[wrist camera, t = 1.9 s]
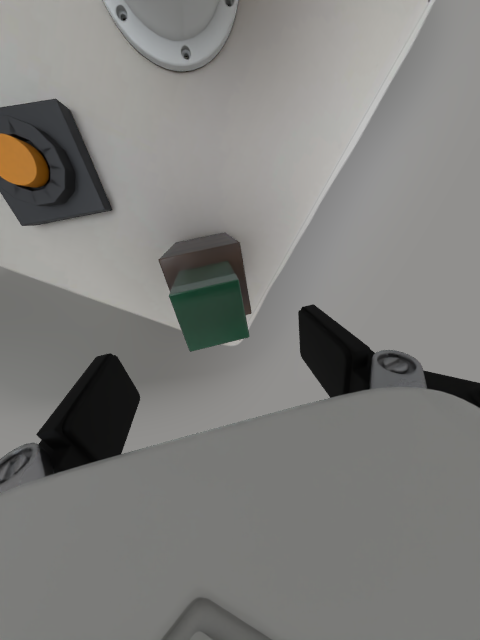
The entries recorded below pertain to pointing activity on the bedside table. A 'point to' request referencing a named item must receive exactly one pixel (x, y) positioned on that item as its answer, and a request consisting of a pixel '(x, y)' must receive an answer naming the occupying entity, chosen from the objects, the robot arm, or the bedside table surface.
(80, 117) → the bedside table surface
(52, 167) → the push button base
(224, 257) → the brown rectangular block
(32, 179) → the button
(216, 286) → the green block
